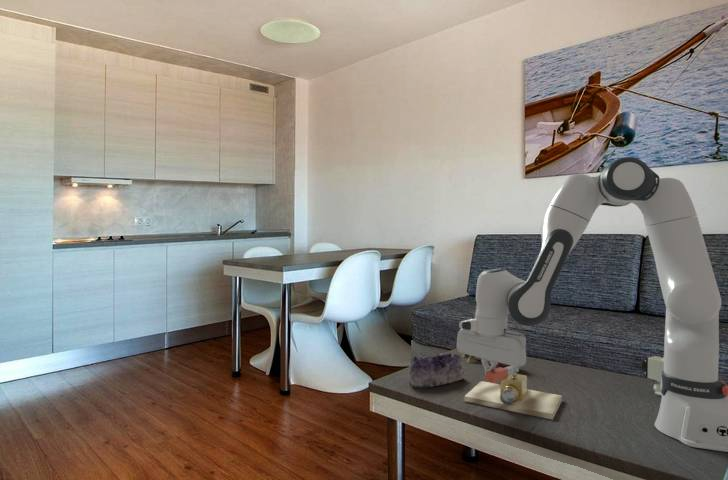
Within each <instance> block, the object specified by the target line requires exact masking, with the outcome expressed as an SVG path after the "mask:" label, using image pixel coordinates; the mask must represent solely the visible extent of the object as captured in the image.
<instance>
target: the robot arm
mask: <svg viewBox="0 0 728 480" xmlns="http://www.w3.org/2000/svg"><path fill="white" fill-rule="evenodd" d="M630 204H633V205H635V206H636V207H637V208H638V209H639V210H640V213H642V215H643V219H644V223H645V228H646V232H647V235H648V240H649V243H650V246H651V247H650V248H651V250H652V254H653V259H654V264H655V266H656V267H655V268H656V272H657V277H658V281H659V285H660V290H661V292H662V293H661V294H662V297H663V302H664V305H665V321H664V323H665V324H664V325H665V327H664V339H663V340H664V341H663V342H664V344H663V345H664V346H663V356H664V370H663V371H662V374H661V382H660V383H661V393H662V396H661V400H660V405H659V409H658V414H657V417H656V419H655V422H654V427H655V428H656V430H658V431H659V432H661V433H662V434H664V435H666V436H668V437H670V438H673V439H675V440H678V441H679V442H681V443H682V444H684V445H686V446H687V447H692V448H697V449H703V450H704V449H705V450H710V451H711V450H712V451H717V452H718V451H719V452H725V453H728V383H726V382H725V380H723V379H720V378H719V358H720V354H719V353H720V335H719V334H720V328H719V327H720V325H719V324H720V321H719V320H720V316H719V315H720V311H721V309H722V297H721V294H720V289H719V287H718V282H717V279H716V277H715V272H714V270H713V267H712V262H711V259H710V255H709V253H708V249H707V246H706V242H705V239H704V235H703V231H702V228H701V225H700V221H699V218H698V215H697V212H696V207H695V205H694V203H693V201H692V198H691V196H690V194H689V192H688V190H687V188H686V186H685V185H684V183H683V182H682V181H681V180H679V179H677V178H673V177H662V178H660V176H659V175H658V173H656V172H655V171H654V170H653V169H651V168H650V166H648V164H647V163H645V161H643V160H641V159H639V158H637V157H633V156H626V157H624V156H623V157H621V158H617V159H614V160H613V161H612V162H610V163H609V164H608V165H607V166H606V167H605V168H604V169H603V170H602V172H601V173H600V174H598V175H597V176H590V175H587V174H583V173H574V174H571V175H569V176H568V177H566V178H565V180H564V181H563V183H561V185H560V186H559V188H558V189H557V191H556V192H555V193H554V196H553V198H552V199H551V201H550V202H549V204H548V206H547V209H546V210H545V212H544V216H543V219H542V221H541V225H540V236H541V237H540V238H541V247H540V251H539V254H538V256H537V258H536V260H535V262H534V266H533V267H532V270H531V271H530V273H529V275H528V278H527V280H524V279H522V278H519V277H517V276H515V275H513V274H512V273H510V272H509V271H507V269H505V268H492V269H487V270H483V271H481V273H480V274H479V275H478V277H477V281H476V287H475V288H476V289H475V301H476V305H477V308H475V313H474V314H475V315H474V318H469V319H464V320H461V321H459V323H458V326H459V331H457V336H456V350H457V351H458V353H459V354H462V355H463V354H467V355H469V356H470V355H471V356H475V358H479V359H481V360H480V362H481V364H482V367H483V369H484V375H485V376H486V372H487V371H490V370H493V369H496V367H497V366H498V362H499V363H503V364H507V365H511V366H515V367H519V368H521V367H522V366H524V365H525V364H526V363H527V352H526V351H527V350H526V345H527V343H526V342H527V339H526V337H525V335H524V334H523V333H522V332H521V331H518V330H517V331H515V330H512V329H509V330H508V321H509V320H508V319H509V318H508V315H510V316H511V318H512V319H513V320H514V321H515V322H517V323H518V324H520V325H522V326H527V327H532V326H537V325H540V324H541V323H542V322H544V321H545V320H546V319H547V318H548V317H549V314H550V311H551V299H552V298H551V296H552V291H553V288H554V286H555V283H556V281H557V280H558V278H559V275H560V273H561V271H562V269H563V267H564V264H565V262H566V260H567V258H568V257H569V255H570V254H571V252H572V250H573V249H574V247H575V246H576V245H577V243H578V241H579V240H580V239H581V237H582V236H583V234H584V232H585V231H586V229H587V227H588V226H589V223H590V222H591V219H592V217H593V215H594V214H595V212H596V210H597V209H598V208H599V206H608V207H614V208H615V207H623V206H627V205H630ZM489 360H490V364H489V363H488V361H489Z"/></svg>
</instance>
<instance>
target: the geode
mask: <svg viewBox="0 0 728 480" xmlns="http://www.w3.org/2000/svg"><path fill="white" fill-rule="evenodd" d="M412 361H413V362H412V364H411V365H412V366H411V367H410V371H409V384H410V387H411V386H412V388H413V387H414V388H413V389H431V388H433V387H438V386H443V385H447V384H452V383H455V382H459V381H461V380H463V379H464V375H465V370H464V369H465V368H464V367H463V366H462V364H461V363H462V356H461V355H458V354H456V353H455V354H453V356H452V353H440V354H436V355H435V356H429V357H425V358H418V357H417V355H416V356H414V357H413V359H412Z"/></svg>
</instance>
